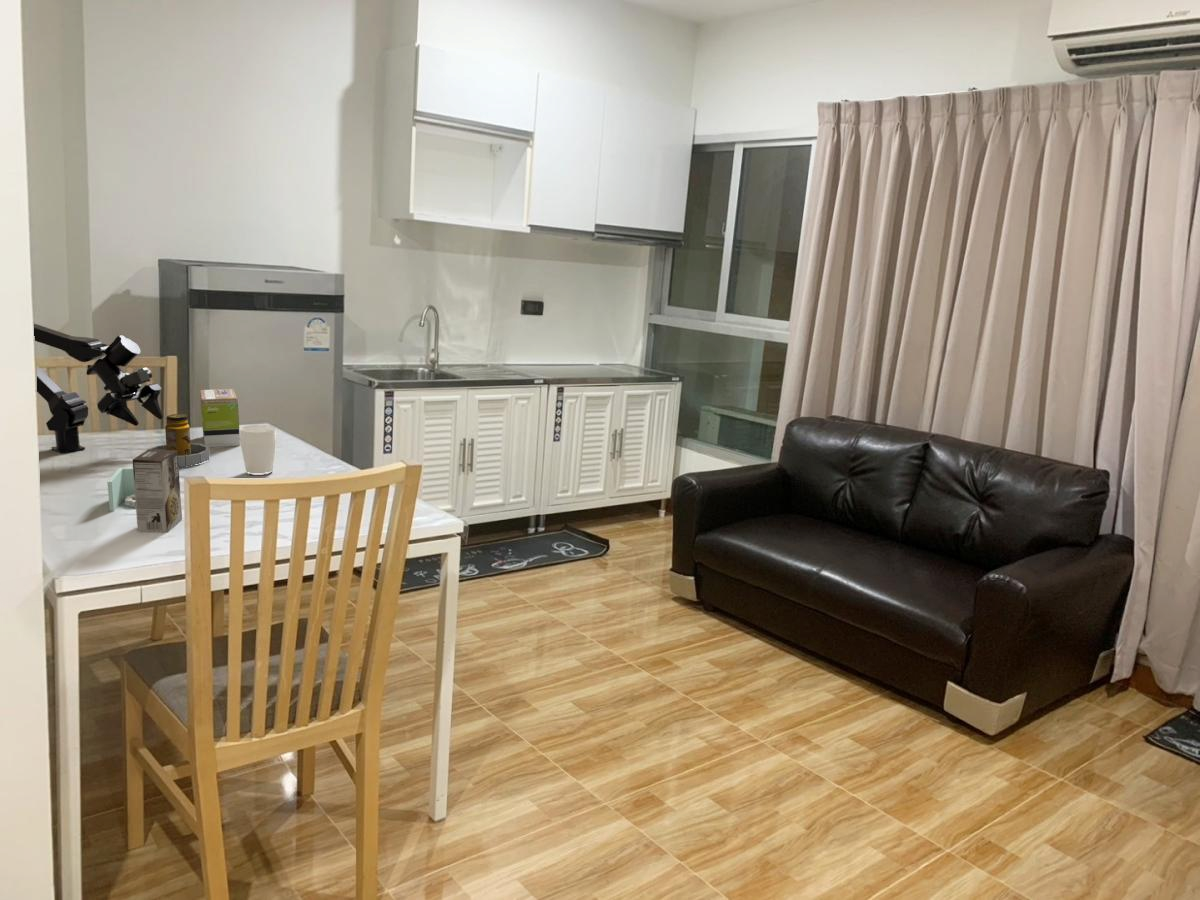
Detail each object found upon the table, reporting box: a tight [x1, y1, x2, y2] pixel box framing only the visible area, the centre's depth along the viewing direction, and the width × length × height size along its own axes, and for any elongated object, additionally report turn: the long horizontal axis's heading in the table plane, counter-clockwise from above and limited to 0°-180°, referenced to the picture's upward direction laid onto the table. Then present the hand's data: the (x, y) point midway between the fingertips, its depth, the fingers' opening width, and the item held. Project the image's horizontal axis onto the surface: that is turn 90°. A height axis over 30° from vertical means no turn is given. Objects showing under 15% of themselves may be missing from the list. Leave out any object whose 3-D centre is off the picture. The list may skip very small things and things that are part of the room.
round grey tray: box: [146, 442, 210, 468], centre depth 251 cm, size 16×16×3 cm
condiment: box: [164, 413, 191, 456], centre depth 249 cm, size 7×8×12 cm
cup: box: [239, 424, 277, 473], centre depth 242 cm, size 9×9×12 cm
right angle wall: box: [107, 467, 136, 512], centre depth 213 cm, size 12×12×8 cm
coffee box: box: [132, 448, 183, 534], centre depth 197 cm, size 9×6×16 cm
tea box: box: [199, 388, 241, 448], centre depth 273 cm, size 15×10×15 cm
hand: (149, 421), depth 250 cm, fingers open, 9 cm apart
